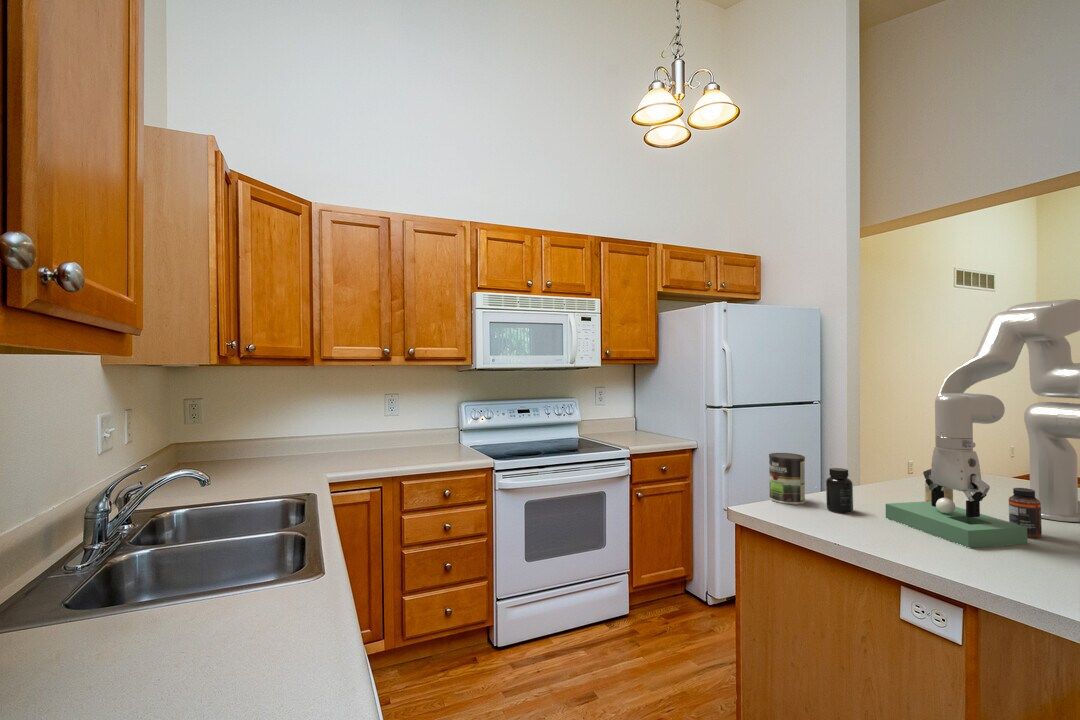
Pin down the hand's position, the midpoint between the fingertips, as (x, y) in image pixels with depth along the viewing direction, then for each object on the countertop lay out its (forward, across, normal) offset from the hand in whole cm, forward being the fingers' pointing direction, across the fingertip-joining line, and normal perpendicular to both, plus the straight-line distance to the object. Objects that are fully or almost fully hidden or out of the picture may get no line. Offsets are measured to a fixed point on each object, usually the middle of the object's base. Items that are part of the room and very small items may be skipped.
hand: (954, 511), depth 133 cm
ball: (-1, +2, 0) cm, 2 cm away
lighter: (+5, +18, -14) cm, 24 cm away
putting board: (+5, +1, 0) cm, 5 cm away
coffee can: (+5, +35, +23) cm, 42 cm away
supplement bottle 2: (+5, -5, -15) cm, 16 cm away
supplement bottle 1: (+5, +22, +15) cm, 27 cm away
